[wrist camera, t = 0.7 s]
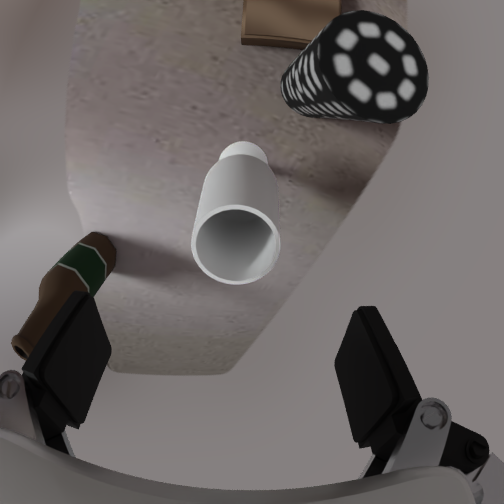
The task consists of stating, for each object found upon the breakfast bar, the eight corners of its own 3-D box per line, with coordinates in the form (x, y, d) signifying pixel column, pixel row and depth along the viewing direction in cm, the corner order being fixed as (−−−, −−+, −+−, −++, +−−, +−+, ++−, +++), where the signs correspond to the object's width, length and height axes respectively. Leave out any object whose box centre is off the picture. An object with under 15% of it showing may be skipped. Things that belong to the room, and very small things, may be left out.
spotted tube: (268, 94, 31) (291, 70, 13) (301, 48, 28) (355, -10, 10) (320, 129, 33) (393, 148, 16) (352, 84, 30) (443, 68, 12)
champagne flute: (253, 197, 38) (260, 313, 17) (209, 176, 36) (156, 269, 15) (277, 155, 35) (323, 223, 14) (232, 132, 34) (204, 161, 12)
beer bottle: (125, 249, 41) (51, 360, 20) (108, 278, 44) (44, 384, 23) (90, 221, 39) (-4, 314, 18) (75, 253, 42) (-3, 346, 20)
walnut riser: (246, -23, 22) (246, -36, 18) (333, -13, 22) (341, -23, 19) (241, 44, 28) (241, 36, 24) (332, 54, 28) (341, 48, 25)
